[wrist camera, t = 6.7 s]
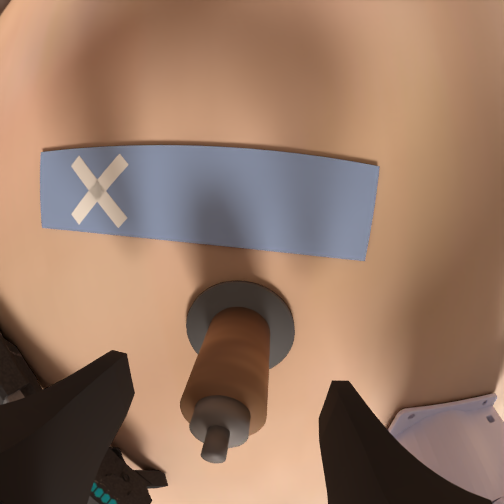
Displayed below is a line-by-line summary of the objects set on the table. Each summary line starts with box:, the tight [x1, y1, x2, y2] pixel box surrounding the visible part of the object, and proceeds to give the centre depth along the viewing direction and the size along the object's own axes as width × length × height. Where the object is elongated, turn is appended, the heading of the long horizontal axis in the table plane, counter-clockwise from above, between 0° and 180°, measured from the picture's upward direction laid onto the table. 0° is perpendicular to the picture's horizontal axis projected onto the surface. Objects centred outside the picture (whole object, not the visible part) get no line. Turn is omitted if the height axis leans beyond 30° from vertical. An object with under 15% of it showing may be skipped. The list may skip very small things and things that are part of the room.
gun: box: [0, 332, 168, 504], centre depth 16 cm, size 4×20×10 cm, turn 42°
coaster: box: [186, 281, 295, 369], centre depth 13 cm, size 5×5×1 cm
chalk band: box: [40, 145, 380, 261], centre depth 12 cm, size 16×4×1 cm, turn 85°
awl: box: [180, 307, 270, 463], centre depth 10 cm, size 3×3×7 cm
